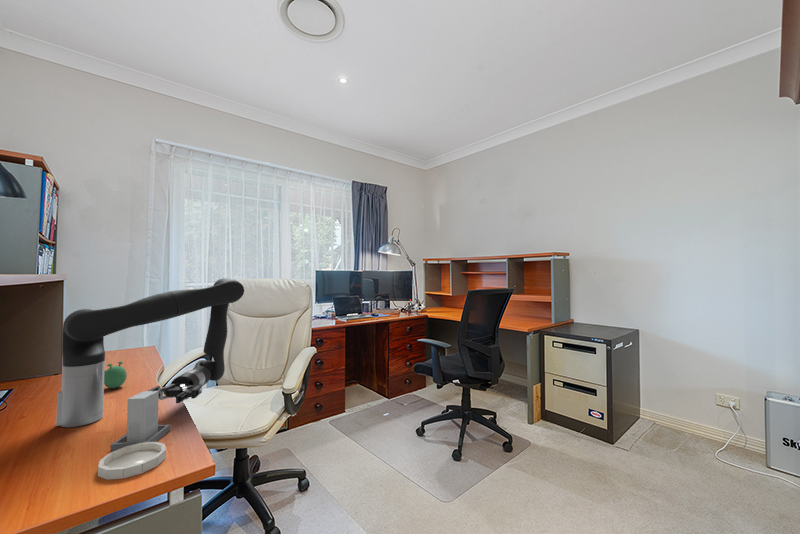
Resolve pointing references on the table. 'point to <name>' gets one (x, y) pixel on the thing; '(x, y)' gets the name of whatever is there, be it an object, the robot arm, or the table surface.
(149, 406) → the skincare box
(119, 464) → the bowl
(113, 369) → the alien toy
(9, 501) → the table surface
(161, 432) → the tray
